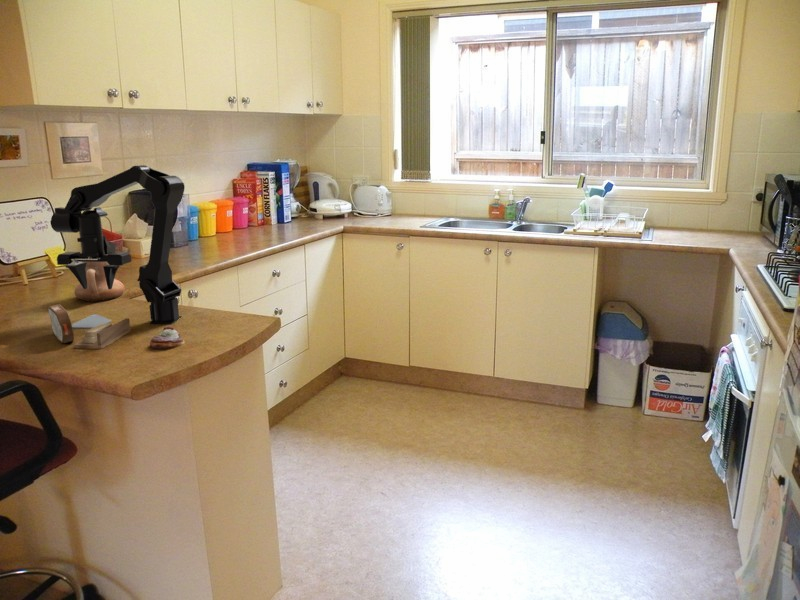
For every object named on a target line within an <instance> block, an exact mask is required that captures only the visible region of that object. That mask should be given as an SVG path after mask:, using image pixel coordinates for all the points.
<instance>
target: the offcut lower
mask: <svg viewBox="0 0 800 600" xmlns="http://www.w3.org/2000/svg"><path fill="white" fill-rule="evenodd" d="M81 341H82V343H95V342H97V336H96V337H85V336H82V337H81Z"/></svg>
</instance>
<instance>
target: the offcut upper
mask: <svg viewBox="0 0 800 600" xmlns="http://www.w3.org/2000/svg"><path fill="white" fill-rule="evenodd" d="M112 325H113V324H112V323H110V322H108V323H102V324H100V325H98V326H96V327H94V328H91V329H88V330H86V331H84V337H96V336H97V333H99V332H101V331H102V330H104V329H106V328H108V327H110V326H112Z"/></svg>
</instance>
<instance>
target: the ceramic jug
mask: <svg viewBox="0 0 800 600" xmlns="http://www.w3.org/2000/svg"><path fill="white" fill-rule="evenodd" d="M106 255H108V254H106ZM88 258H89V257H88ZM99 259H100V258H99ZM106 265H108V263H107V262H87V264H86V268H85V271H86V278H87V289H84V288H83V287H82V285H81V284H80V283H79V284H78V285H76V287H75V288H74V291H73V292H74V295H75V297H76V298H78V299H79V300H81V301H85V302H100V301H109V300H112V299H116V298H119V297H121V296H122V295H123V294H124V292H125V285H124V284H123V283H122V282H121V281H120V280H118V279H116V278H114V282H113V286H112V289H108V286H107V282H106V277H105V273H104V268H103V266H106Z"/></svg>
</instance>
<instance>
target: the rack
mask: <svg viewBox="0 0 800 600" xmlns="http://www.w3.org/2000/svg"><path fill="white" fill-rule="evenodd" d="M130 323H131V321H130V317H129V318H128V317H127V318H125V319H122V320H121V321H118V322H117V323H115V324H112V326H110V327H108V328H106V329H104V330H102V331H101V332H99V333H97V342H95V343H82V340H81V341H79V342H77V343H75V344H73V348H74V349H92V350H93V349H95V350H99V349H104V348H105V347H108V346H109V345H111V344H112V343H114V342H116V341H117V340H119V339H121V338H122V337H124V336H125V335H127V334H128V333H130V332H131V324H130Z"/></svg>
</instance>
